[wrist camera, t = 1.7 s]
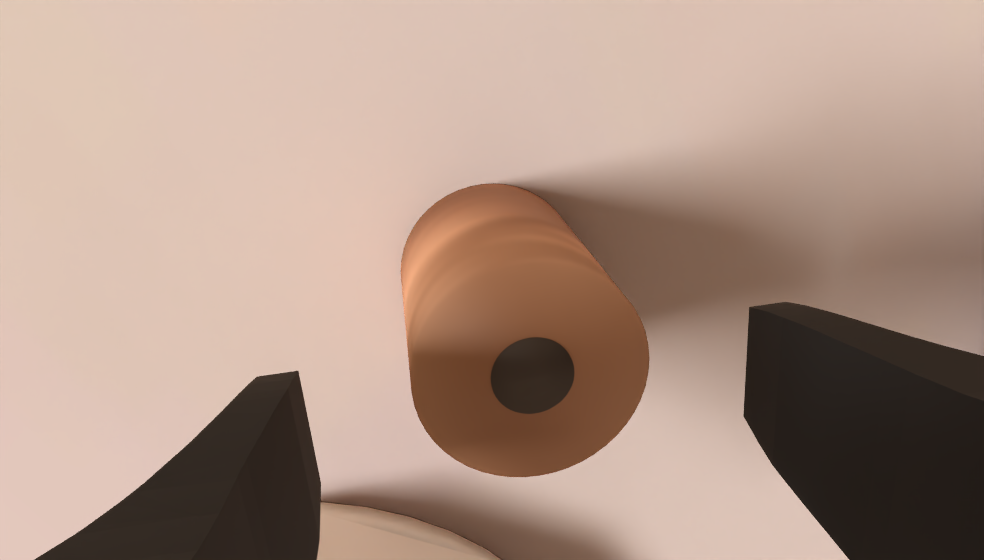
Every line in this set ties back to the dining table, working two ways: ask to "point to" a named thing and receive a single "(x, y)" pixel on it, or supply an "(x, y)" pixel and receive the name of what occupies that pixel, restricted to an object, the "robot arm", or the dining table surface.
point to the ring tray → (388, 537)
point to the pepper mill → (516, 335)
